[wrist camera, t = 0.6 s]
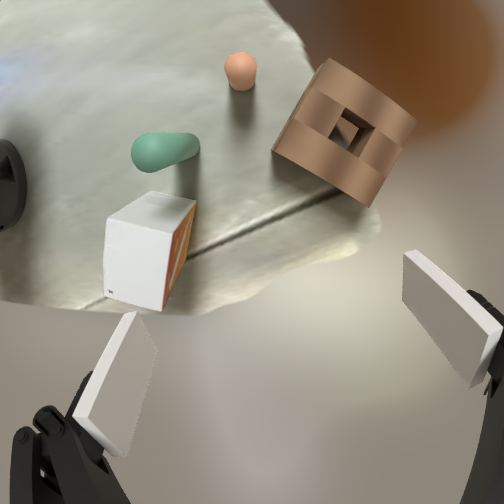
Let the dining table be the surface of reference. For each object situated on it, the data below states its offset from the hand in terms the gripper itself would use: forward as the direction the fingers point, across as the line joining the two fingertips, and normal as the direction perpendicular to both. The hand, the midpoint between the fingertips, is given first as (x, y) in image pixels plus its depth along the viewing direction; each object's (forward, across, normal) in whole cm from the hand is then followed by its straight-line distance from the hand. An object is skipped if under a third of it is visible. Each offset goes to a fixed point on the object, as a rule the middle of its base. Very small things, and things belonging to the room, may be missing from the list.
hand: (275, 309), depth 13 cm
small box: (+24, -11, -1) cm, 27 cm away
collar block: (+24, +12, +6) cm, 27 cm away
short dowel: (+24, +2, +14) cm, 28 cm away
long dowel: (+24, -6, +8) cm, 26 cm away
